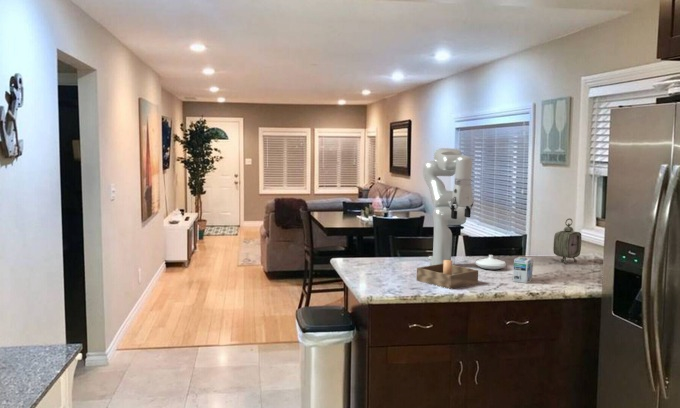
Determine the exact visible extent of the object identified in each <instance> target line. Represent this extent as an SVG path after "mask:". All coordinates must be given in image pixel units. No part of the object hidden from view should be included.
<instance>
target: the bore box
mask: <svg viewBox="0 0 680 408" xmlns="http://www.w3.org/2000/svg"><path fill="white" fill-rule="evenodd" d="M416 281H417V282H421V283H425V284H428V283H429V284H430V285H432V284H434V285H433V286H436V285H437V287H440V286H441V288H444V287H445V288H444V289H448V288H449V289H448V290H452V289H451V288H453V289H457V288H456V287H458V288H461V286H462V287H467V286H471V285H470V284H472V285H475V283H476V284H478V283H479V270H477V269H473V268H469V267H465V266H464V267H463V266H458V265H452V275H448V274H443V263H442V264H437V265H431V266H430V265H426V266H420V267H416ZM466 285H467V286H466Z"/></svg>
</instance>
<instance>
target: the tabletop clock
mask: <svg viewBox="0 0 680 408" xmlns="http://www.w3.org/2000/svg"><path fill="white" fill-rule="evenodd" d="M569 220H570V221H571V222H570V223H567V222H568V221H569ZM564 223H565V226H564V228H563V230H560V231H557V232H555V234H554V237H553V248H552V249H553V254H555V256H557V257H562V259H560V261H561V263H563V264H564V265H567V263H568V262H567V258H568V259H573V262H574V263H577V262H578V260H577V259H576V258H578V257H579V256H580V255H581V250H582V232H581V231H579V232H578V231H574V228H573V227H571V225H573V219H572V218H570V217H569V218H567V219H566V220H565V222H564Z"/></svg>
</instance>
